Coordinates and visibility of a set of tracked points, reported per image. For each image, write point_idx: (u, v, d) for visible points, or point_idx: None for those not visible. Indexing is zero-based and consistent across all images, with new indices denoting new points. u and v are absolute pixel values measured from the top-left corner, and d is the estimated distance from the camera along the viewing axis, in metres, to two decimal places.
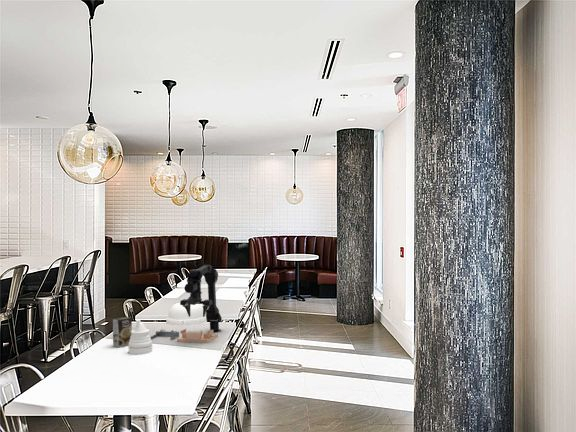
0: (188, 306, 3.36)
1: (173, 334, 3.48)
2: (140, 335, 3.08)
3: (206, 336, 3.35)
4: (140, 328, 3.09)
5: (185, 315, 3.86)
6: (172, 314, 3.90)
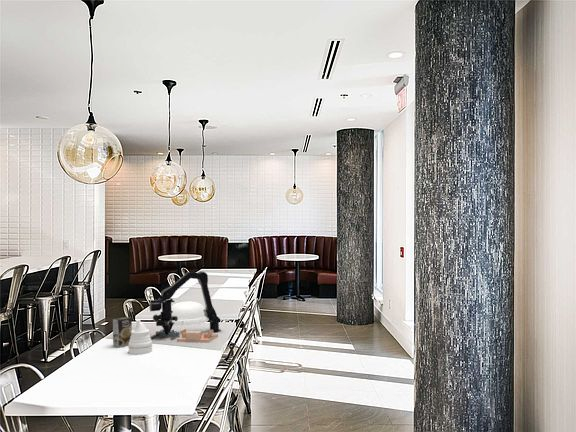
0: (168, 324, 3.51)
1: (173, 334, 3.48)
2: (140, 335, 3.08)
3: (206, 336, 3.35)
4: (140, 328, 3.09)
5: (185, 315, 3.86)
6: None
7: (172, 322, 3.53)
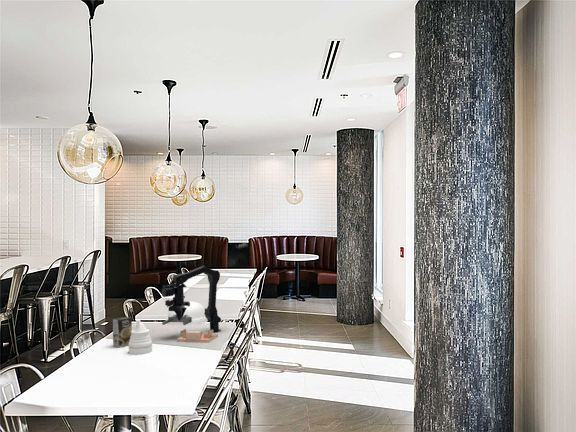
0: (180, 309, 3.50)
1: (185, 319, 3.46)
2: (140, 335, 3.08)
3: (206, 336, 3.35)
4: (140, 328, 3.09)
5: None
6: (171, 314, 3.90)
7: (184, 307, 3.51)
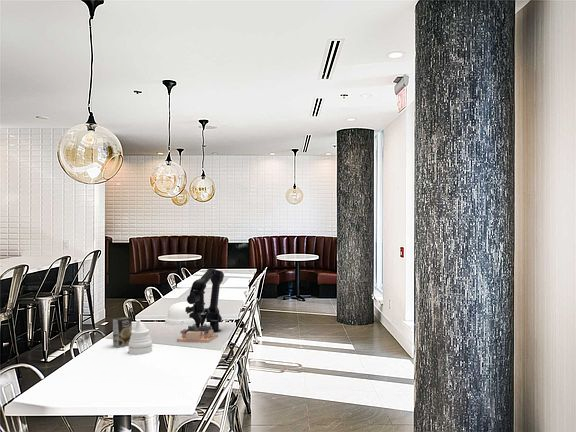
0: (201, 315, 3.48)
1: (206, 328, 3.43)
2: (140, 335, 3.08)
3: (206, 336, 3.35)
4: (140, 328, 3.09)
5: (184, 315, 3.86)
6: (171, 314, 3.90)
7: (205, 314, 3.50)
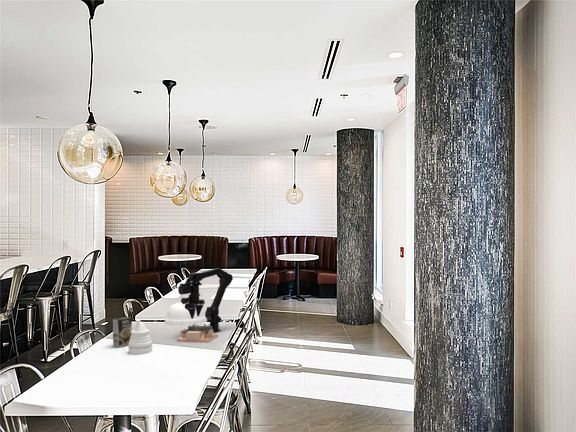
0: (197, 306, 3.58)
1: (206, 328, 3.43)
2: (140, 335, 3.08)
3: (206, 336, 3.35)
4: (140, 328, 3.09)
5: (184, 315, 3.86)
6: (170, 314, 3.89)
7: None
